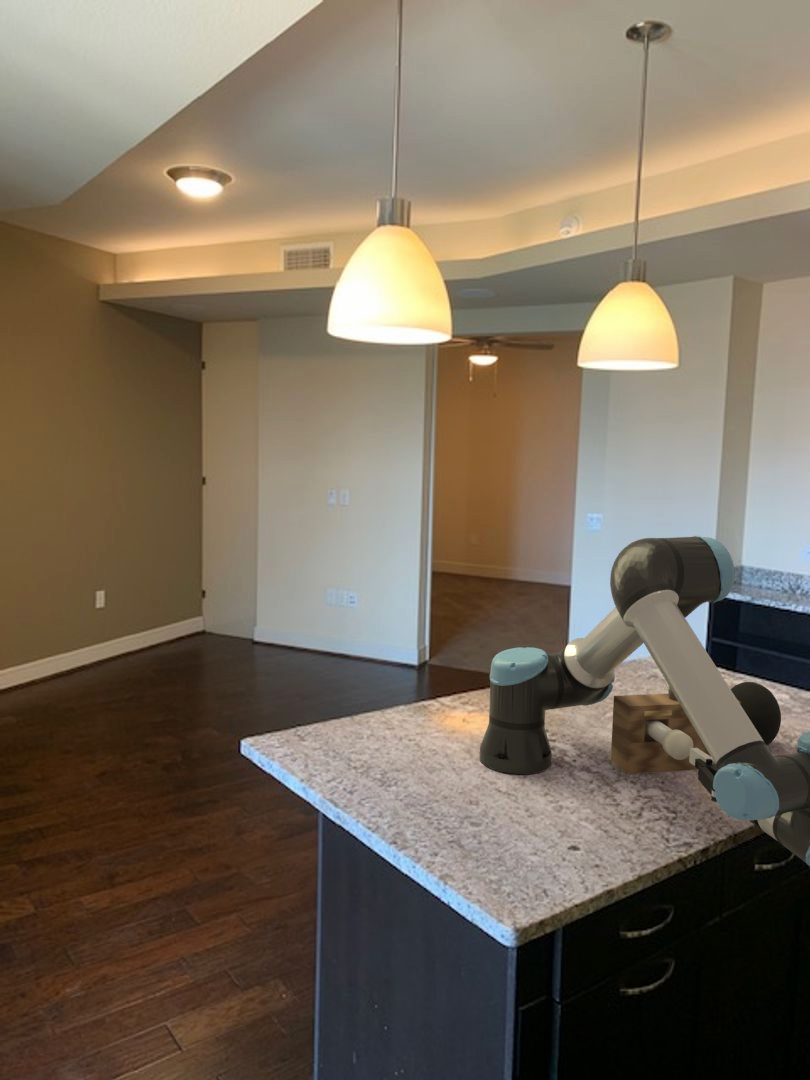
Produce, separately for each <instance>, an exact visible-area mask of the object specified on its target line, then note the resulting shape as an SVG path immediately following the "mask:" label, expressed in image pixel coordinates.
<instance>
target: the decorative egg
mask: <svg viewBox="0 0 810 1080" xmlns="http://www.w3.org/2000/svg"><path fill="white" fill-rule="evenodd" d="M730 689H731V691H732V692H733V694H734V695H735V697H736V699H737V700H738V701H740V702H741V704H740V705H741V706H742V708H743V710H744V711H745V713H746V714H747V716H748V717H749V719H750V721H751V722H752V724H753V725H754V727H755V728H756V730H757V731H758V733H759V735H760V736H761V738H762V739H763V741H764V742H765V744H766V745H767V746H769V745H771V743H772V742H774V740H775V739H776V737H777V736H778V733H779V731H780V728H781V723H782V713H781V708H780V705H779V702H778V700H777V698H776V697H775V696H774V694H773V692H772V691H771V690H769V689H768V688H767V687H766V686H764V685H762V684H760V683H758V682H754V681H743V682H741V683H737V684H735V685H734V686H732V687H731V688H730Z"/></svg>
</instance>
